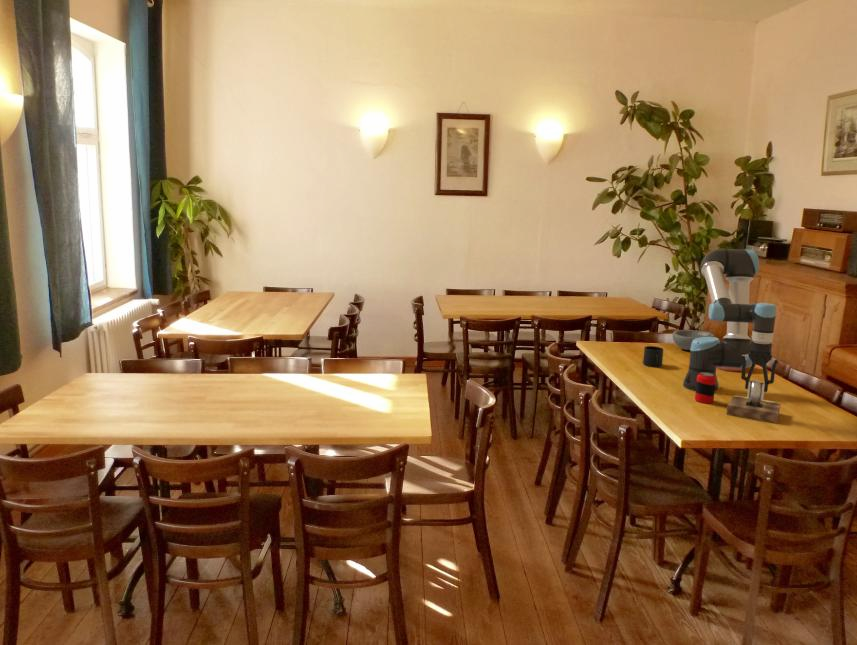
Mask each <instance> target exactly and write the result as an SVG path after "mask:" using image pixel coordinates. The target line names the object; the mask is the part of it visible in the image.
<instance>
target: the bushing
mask: <svg viewBox="0 0 857 645" xmlns="http://www.w3.org/2000/svg"><path fill="white" fill-rule="evenodd" d="M750 381H751V386H750V395H749V403H748V405H749V406H753V407H760V404H761V393H762V385H763V383H764V382H763V381H761V380H750Z"/></svg>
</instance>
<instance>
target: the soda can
mask: <svg viewBox="0 0 857 645" xmlns="http://www.w3.org/2000/svg"><path fill="white" fill-rule="evenodd" d="M715 384H716V377H715V376H714V374H711V373H705V372H703V373H700V374H699V375H698V376H697V382H696V391H695V390H694V391H695V393H694V400H695V401H696V402H698V403H701V404H712V403H714V401H715V392H716V391H715Z"/></svg>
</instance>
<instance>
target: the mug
mask: <svg viewBox="0 0 857 645" xmlns="http://www.w3.org/2000/svg"><path fill="white" fill-rule="evenodd" d="M643 349H644V350H643V357H642V358H643V359H642V360H643V361H642V365H643V366H646V367H651V368H660V367H662V366H663V359H664V358H663V357H664V348H663V347H661V346H660V347H659V346H651V345H649V346H644V348H643Z"/></svg>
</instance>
